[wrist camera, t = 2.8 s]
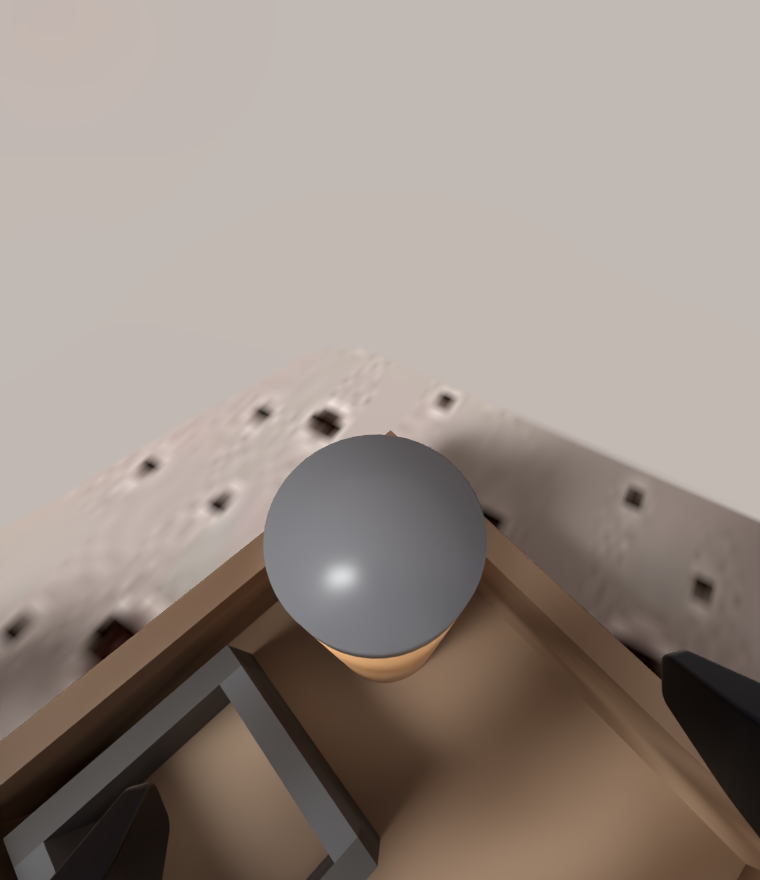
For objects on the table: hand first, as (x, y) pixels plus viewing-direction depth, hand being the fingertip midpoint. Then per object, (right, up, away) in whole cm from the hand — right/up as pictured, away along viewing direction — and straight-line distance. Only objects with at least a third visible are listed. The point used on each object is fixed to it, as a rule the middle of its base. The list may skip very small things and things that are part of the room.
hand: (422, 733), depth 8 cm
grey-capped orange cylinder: (-1, -2, +10) cm, 10 cm away
